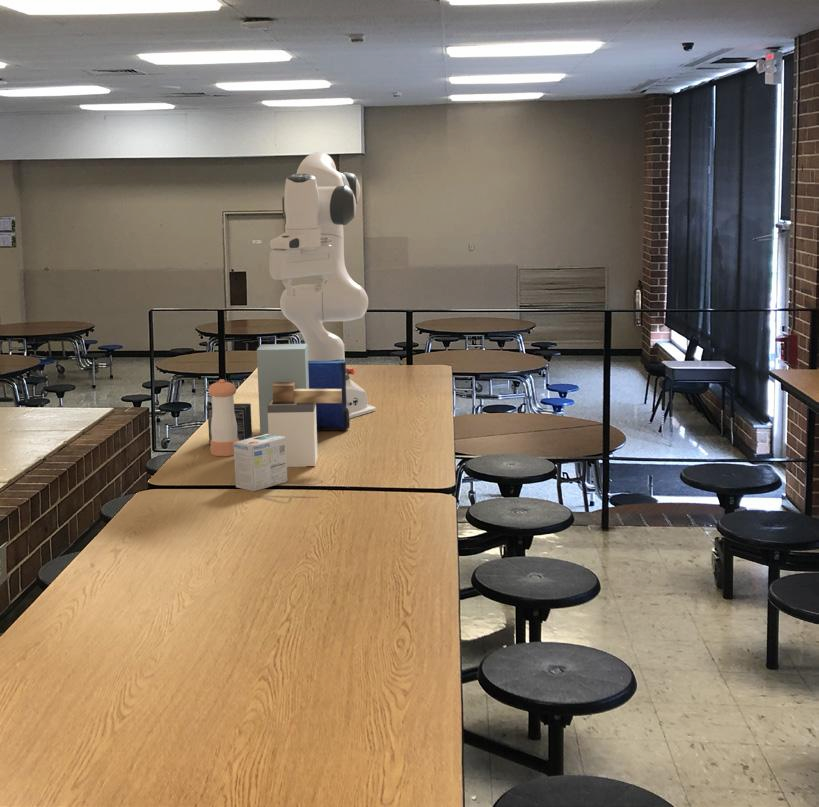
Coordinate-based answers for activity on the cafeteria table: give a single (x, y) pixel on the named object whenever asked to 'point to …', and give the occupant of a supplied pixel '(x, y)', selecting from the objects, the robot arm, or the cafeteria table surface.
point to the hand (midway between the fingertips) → (305, 294)
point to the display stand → (279, 372)
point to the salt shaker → (223, 418)
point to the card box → (295, 431)
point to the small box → (242, 421)
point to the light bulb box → (260, 462)
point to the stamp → (303, 394)
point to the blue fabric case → (330, 378)
